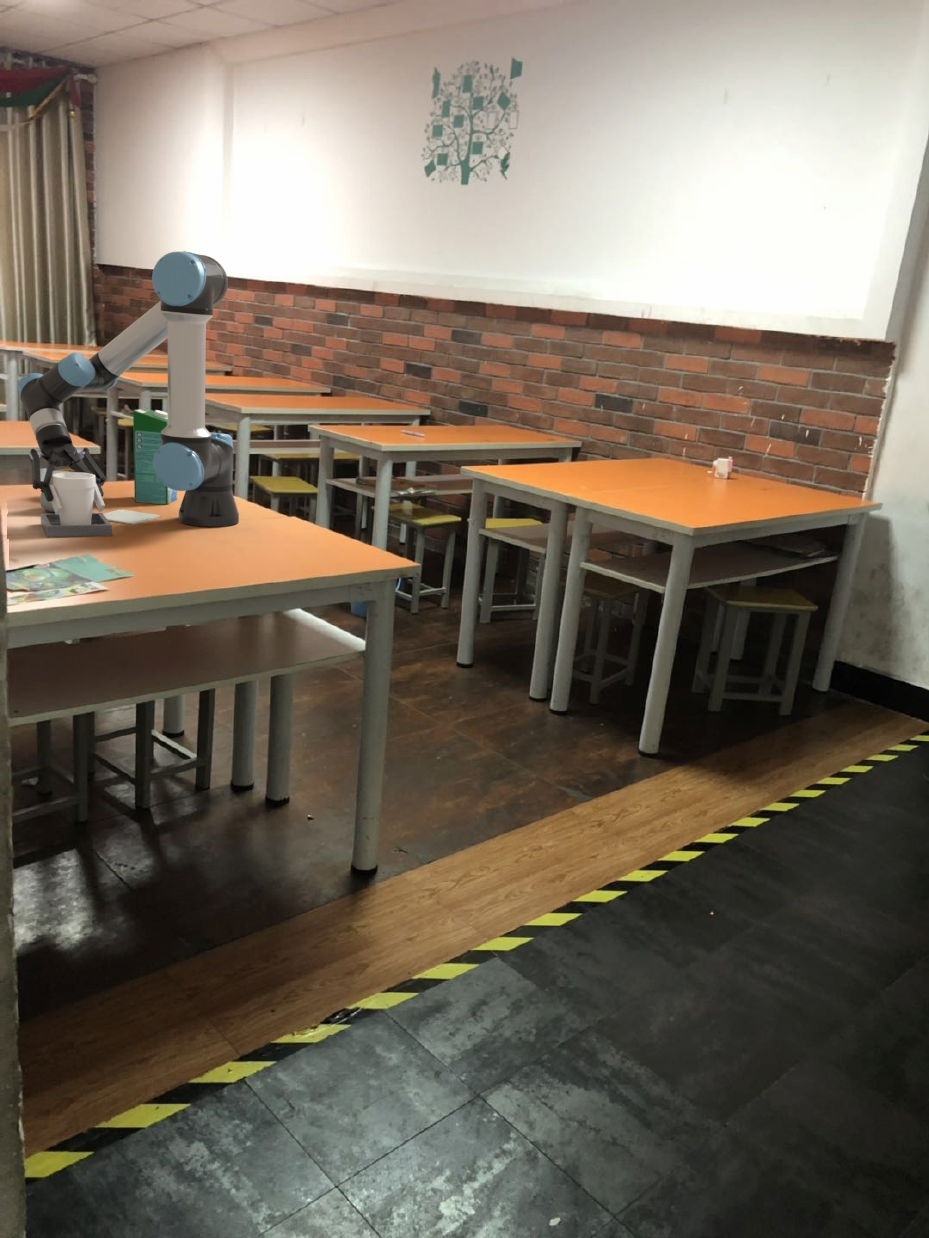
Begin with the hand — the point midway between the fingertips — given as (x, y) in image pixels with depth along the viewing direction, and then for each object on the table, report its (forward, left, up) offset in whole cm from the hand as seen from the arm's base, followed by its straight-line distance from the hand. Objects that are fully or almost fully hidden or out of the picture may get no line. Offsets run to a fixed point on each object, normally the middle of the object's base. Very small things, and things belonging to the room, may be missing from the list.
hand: (80, 510), depth 225 cm
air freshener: (+19, -16, -6) cm, 25 cm away
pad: (+2, -20, -5) cm, 21 cm away
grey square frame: (+3, -2, -5) cm, 6 cm away
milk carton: (+9, -44, -6) cm, 45 cm away
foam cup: (+3, -2, -6) cm, 6 cm away
